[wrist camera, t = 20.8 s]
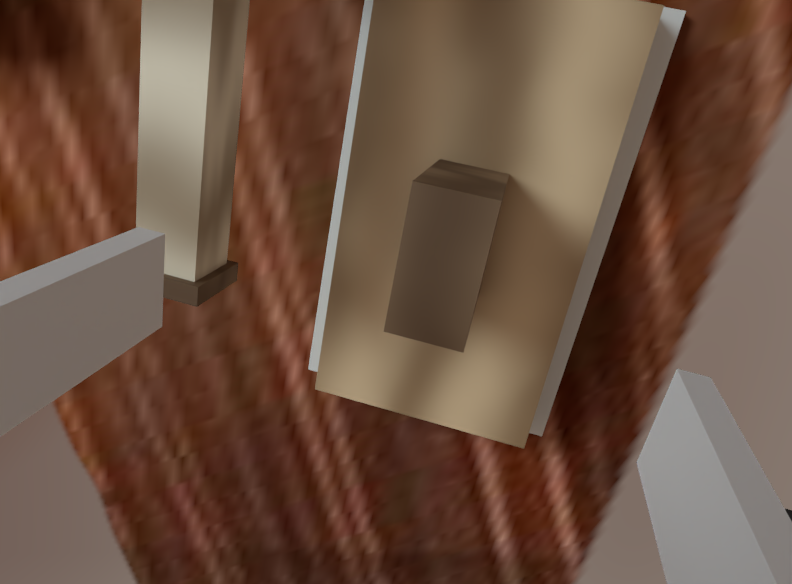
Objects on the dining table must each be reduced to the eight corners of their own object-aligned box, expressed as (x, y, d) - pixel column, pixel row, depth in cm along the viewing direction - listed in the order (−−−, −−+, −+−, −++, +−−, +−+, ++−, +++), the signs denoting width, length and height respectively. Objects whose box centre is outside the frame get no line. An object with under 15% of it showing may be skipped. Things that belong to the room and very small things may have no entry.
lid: (329, 368, 35) (264, 458, 26) (393, -33, 27) (330, -84, 19) (524, 423, 33) (520, 536, 25) (652, 12, 25) (709, -22, 17)
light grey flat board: (375, -44, 28) (371, -47, 27) (682, 12, 26) (686, 10, 25) (311, 364, 36) (308, 369, 35) (541, 430, 34) (541, 436, 33)
